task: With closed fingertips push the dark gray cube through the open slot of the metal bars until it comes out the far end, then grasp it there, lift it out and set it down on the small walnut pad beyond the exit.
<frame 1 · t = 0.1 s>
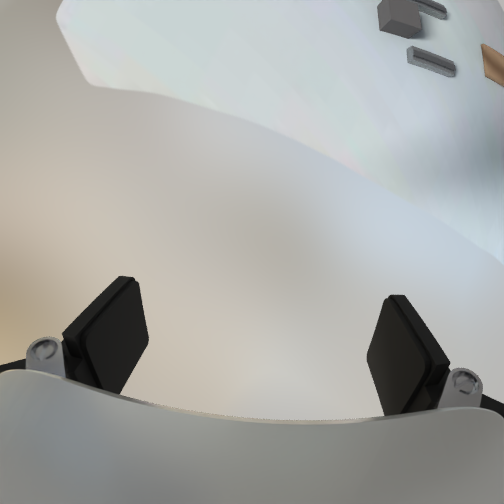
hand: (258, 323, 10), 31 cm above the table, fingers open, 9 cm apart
metal bars: (425, 33, 27), on the table
pad: (495, 67, 26), on the table
dark gray cube: (392, 22, 27), on the table
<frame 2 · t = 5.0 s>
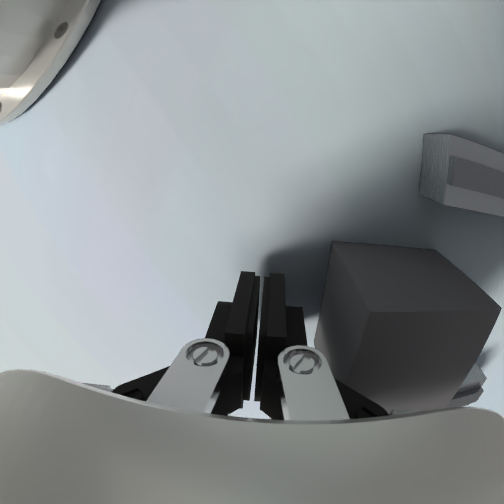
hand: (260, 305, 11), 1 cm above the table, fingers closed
metal bars: (459, 297, 11), on the table
dark gray cube: (376, 298, 11), on the table, touching gripper
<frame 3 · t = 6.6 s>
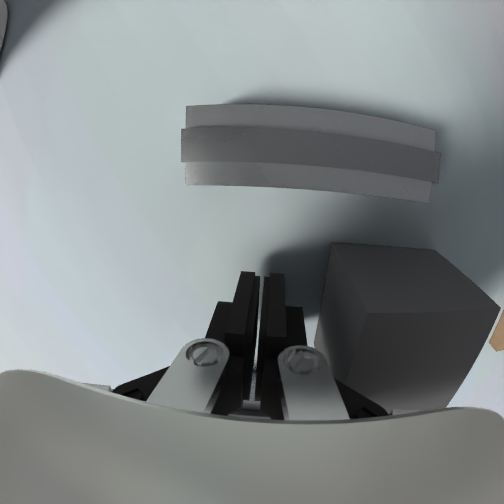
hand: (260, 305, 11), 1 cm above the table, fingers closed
metal bars: (298, 295, 12), on the table
dark gray cube: (375, 299, 12), on the table, touching gripper
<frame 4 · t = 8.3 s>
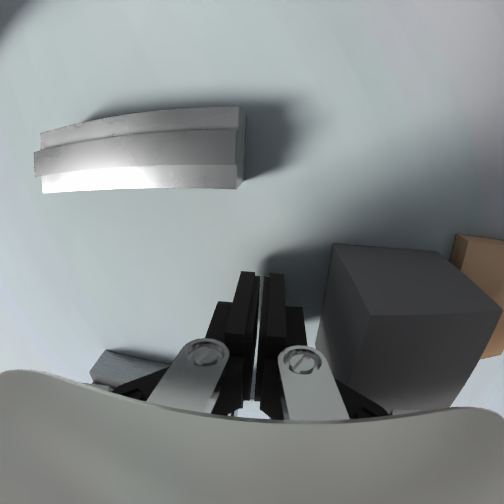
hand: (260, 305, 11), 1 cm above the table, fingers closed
metal bars: (152, 287, 12), on the table
pad: (482, 301, 11), on the table
dark gray cube: (377, 300, 11), on the table, touching gripper
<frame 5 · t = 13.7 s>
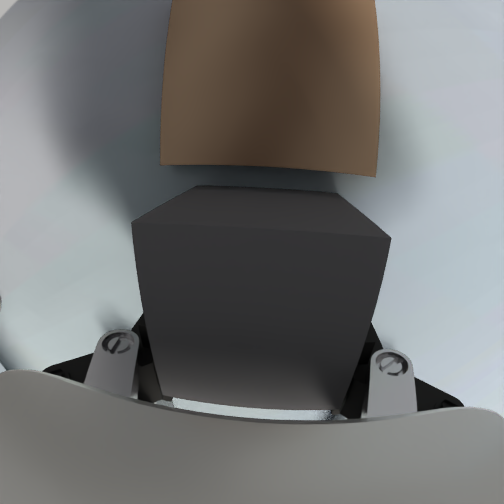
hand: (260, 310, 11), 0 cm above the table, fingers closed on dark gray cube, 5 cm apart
pad: (272, 68, 8), on the table
dark gray cube: (263, 254, 11), on the table, touching gripper
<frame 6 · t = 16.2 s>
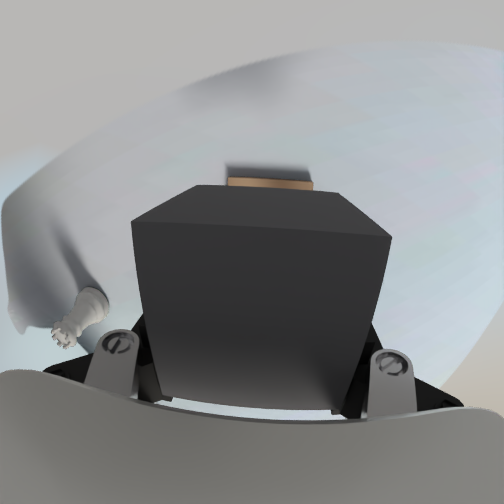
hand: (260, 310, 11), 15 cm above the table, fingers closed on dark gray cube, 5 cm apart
rook chess piece: (96, 300, 30), on the table
pad: (268, 217, 25), on the table
dark gray cube: (263, 254, 10), point 14 cm above the table, touching gripper
when the fingers open (3 cm above the table, at t = 18.6 s): dark gray cube drops 1 cm, resting on pad.
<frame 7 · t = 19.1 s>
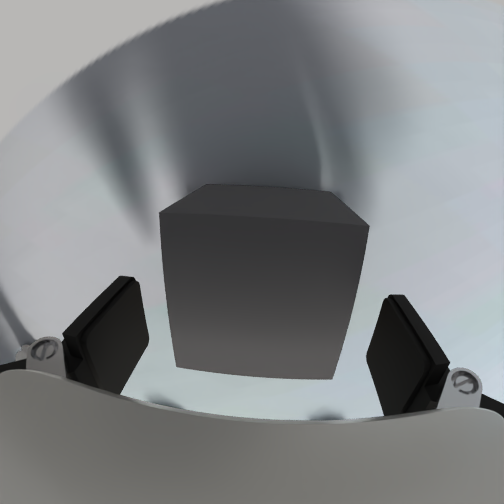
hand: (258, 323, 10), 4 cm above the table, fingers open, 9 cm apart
dark gray cube: (265, 245, 12), point 1 cm above the table, touching pad
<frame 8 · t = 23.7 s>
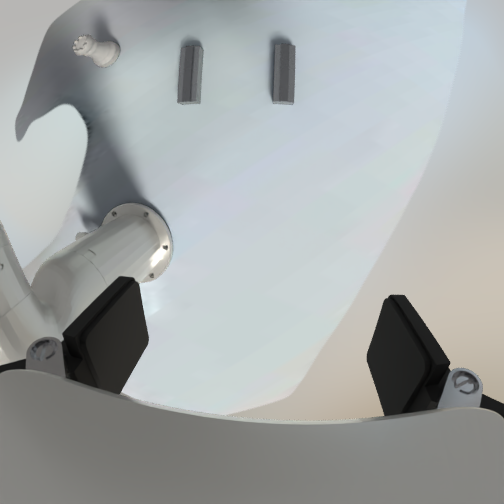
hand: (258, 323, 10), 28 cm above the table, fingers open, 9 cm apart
rook chess piece: (109, 55, 30), on the table
metal bars: (237, 74, 31), on the table
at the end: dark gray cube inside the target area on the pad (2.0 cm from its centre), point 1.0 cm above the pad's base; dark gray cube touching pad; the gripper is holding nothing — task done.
